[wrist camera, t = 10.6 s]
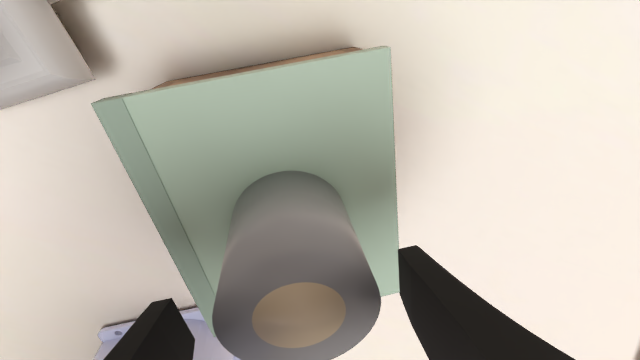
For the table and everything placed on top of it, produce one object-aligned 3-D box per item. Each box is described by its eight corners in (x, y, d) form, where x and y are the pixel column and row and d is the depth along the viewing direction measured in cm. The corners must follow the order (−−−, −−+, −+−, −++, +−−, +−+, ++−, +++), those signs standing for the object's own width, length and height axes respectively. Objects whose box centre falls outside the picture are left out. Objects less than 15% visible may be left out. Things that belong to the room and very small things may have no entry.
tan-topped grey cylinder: (252, 275, 14) (244, 384, 10) (214, 187, 12) (182, 280, 8) (352, 249, 15) (387, 345, 10) (334, 157, 12) (371, 231, 8)
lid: (216, 322, 17) (213, 337, 16) (104, 98, 11) (91, 103, 10) (394, 280, 17) (401, 292, 16) (382, 45, 11) (390, 47, 10)
